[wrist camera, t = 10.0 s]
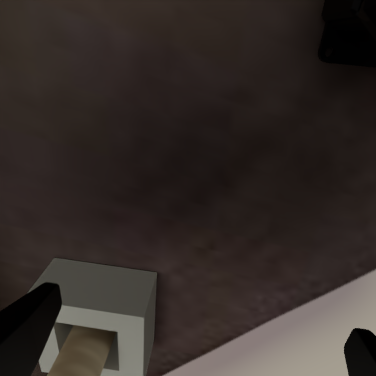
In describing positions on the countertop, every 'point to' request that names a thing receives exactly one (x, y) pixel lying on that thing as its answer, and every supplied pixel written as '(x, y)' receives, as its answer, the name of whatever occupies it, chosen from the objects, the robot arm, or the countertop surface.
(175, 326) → the countertop surface
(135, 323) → the socket block
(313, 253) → the countertop surface
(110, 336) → the peg
